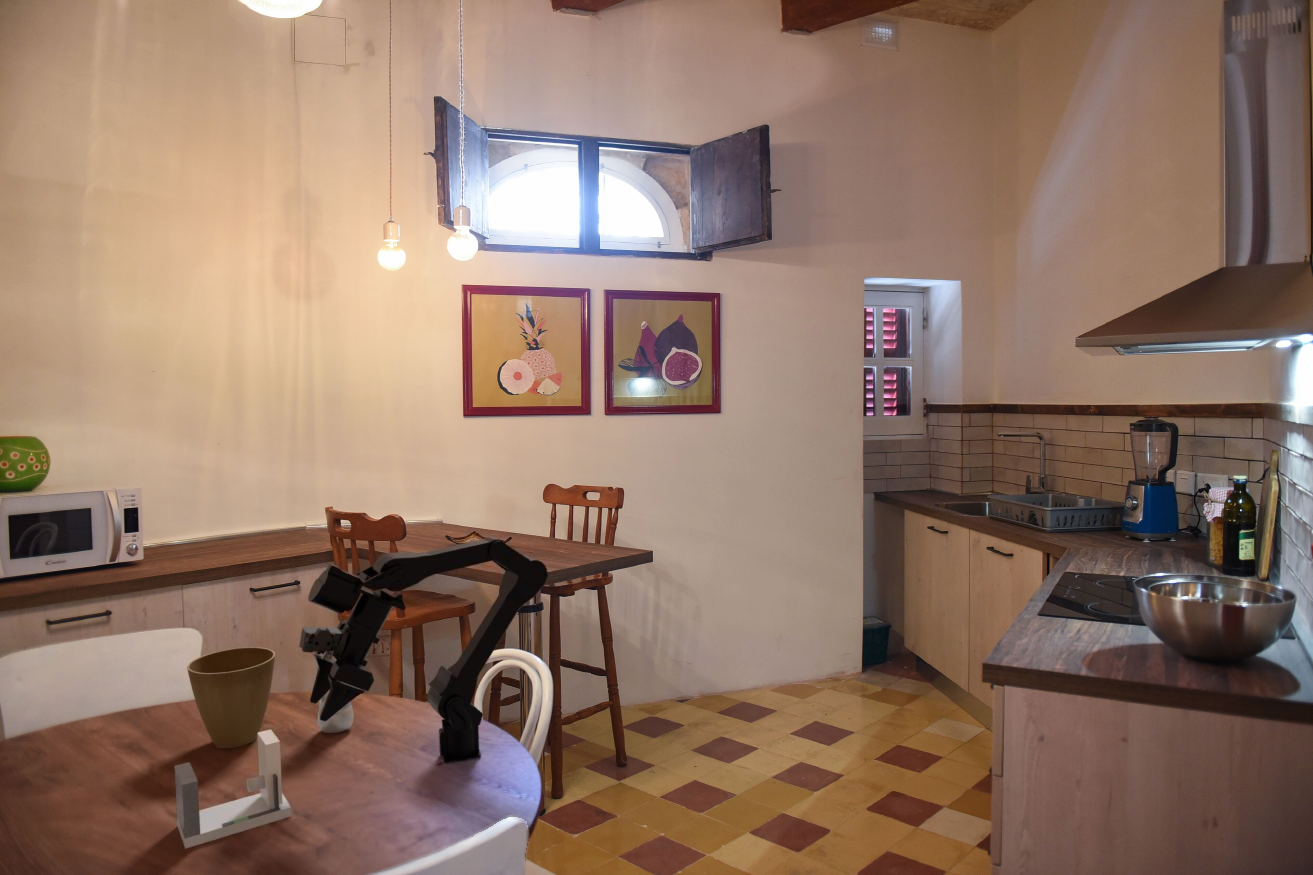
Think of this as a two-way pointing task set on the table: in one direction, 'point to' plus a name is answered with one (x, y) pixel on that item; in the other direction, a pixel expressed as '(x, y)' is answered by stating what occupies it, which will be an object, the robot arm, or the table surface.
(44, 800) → the table surface
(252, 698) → the plant pot
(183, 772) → the brushed steel plate
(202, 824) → the base
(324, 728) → the plastic bottle
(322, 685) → the robot arm
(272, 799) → the cream upright slab
